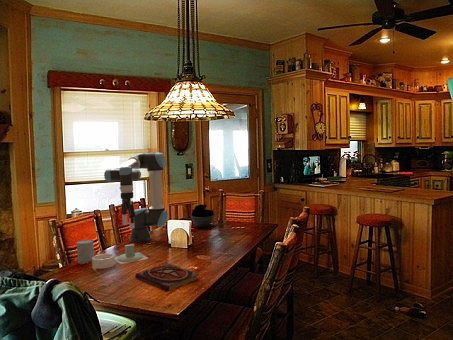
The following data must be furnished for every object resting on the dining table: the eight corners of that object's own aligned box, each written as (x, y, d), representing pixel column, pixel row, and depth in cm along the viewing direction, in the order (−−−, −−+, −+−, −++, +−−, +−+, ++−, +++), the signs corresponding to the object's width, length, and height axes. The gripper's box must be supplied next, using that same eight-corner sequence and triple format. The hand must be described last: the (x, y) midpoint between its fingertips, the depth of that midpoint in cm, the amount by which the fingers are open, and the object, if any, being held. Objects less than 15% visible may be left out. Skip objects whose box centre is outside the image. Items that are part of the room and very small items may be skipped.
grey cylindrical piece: (97, 259, 229) (96, 239, 229) (88, 264, 220) (86, 243, 219) (84, 258, 232) (83, 239, 231) (74, 263, 223) (73, 243, 222)
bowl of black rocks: (205, 223, 327) (205, 202, 326) (219, 226, 312) (219, 204, 311) (186, 227, 315) (186, 205, 313) (200, 230, 299) (199, 207, 298)
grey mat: (139, 253, 238) (139, 252, 238) (148, 260, 224) (148, 258, 224) (112, 258, 229) (112, 257, 229) (120, 265, 215) (120, 264, 215)
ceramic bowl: (111, 262, 222) (110, 252, 222) (117, 267, 212) (116, 257, 212) (90, 266, 216) (90, 256, 216) (95, 271, 206) (95, 261, 205)
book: (135, 279, 194) (134, 270, 194) (168, 268, 209) (167, 259, 209) (167, 293, 174) (166, 283, 174) (201, 280, 189) (200, 270, 188)
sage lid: (138, 252, 237) (137, 240, 236) (146, 258, 224) (145, 245, 224) (114, 257, 229) (113, 244, 228) (121, 263, 216) (121, 249, 216)
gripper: (114, 190, 233) (116, 224, 234) (127, 194, 211) (128, 230, 213) (126, 189, 237) (128, 222, 238) (139, 193, 216) (141, 229, 217)
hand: (128, 226), depth 225 cm, fingers open, 13 cm apart
